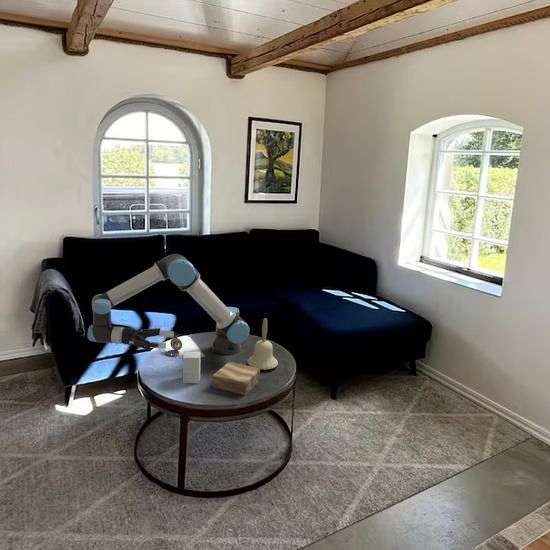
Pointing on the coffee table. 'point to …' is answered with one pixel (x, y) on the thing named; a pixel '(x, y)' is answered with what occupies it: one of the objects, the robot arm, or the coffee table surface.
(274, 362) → the handbell
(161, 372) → the coffee table surface
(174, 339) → the pocket watch
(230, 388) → the walnut stand
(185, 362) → the supplement box
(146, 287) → the robot arm
